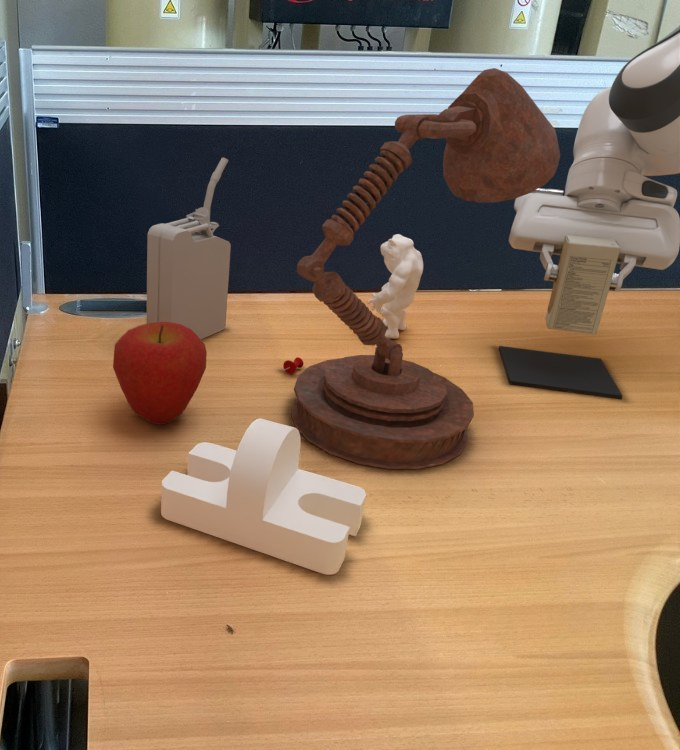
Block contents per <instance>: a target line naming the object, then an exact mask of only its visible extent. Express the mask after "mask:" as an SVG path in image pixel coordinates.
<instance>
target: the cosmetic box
mask: <svg viewBox="0 0 680 750" xmlns="http://www.w3.org/2000/svg"><path fill="white" fill-rule="evenodd" d="M619 252H620V246H619V244H618V243H617V241H616V240H615V239H608V238H597V237H586V236H575V235H566V236H565V240H564V244H563V248H562V252H561V255H559V256H560V257H559V260H558V263H557V265H560V267H559V271H558V277H557V279H556V282H553V283H552V289H551V293H550V297H549V301H548V305H547V309H546V313H545V317H544V318H545V325H546V329H548V330H554V331H560V332H562V331H563V332H569V333H576V334H585V335H593V336H596V335H597V334H598V331H599V327H600V324H601V320H602V316H603V313H604V310H605V305H606V302H607V298H608V295H609V291H610V290H609V288H610V284H611V281H612V277H613V273H615V270H616V265H617V263H616V262H617V259H618V255H619Z"/></svg>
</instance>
